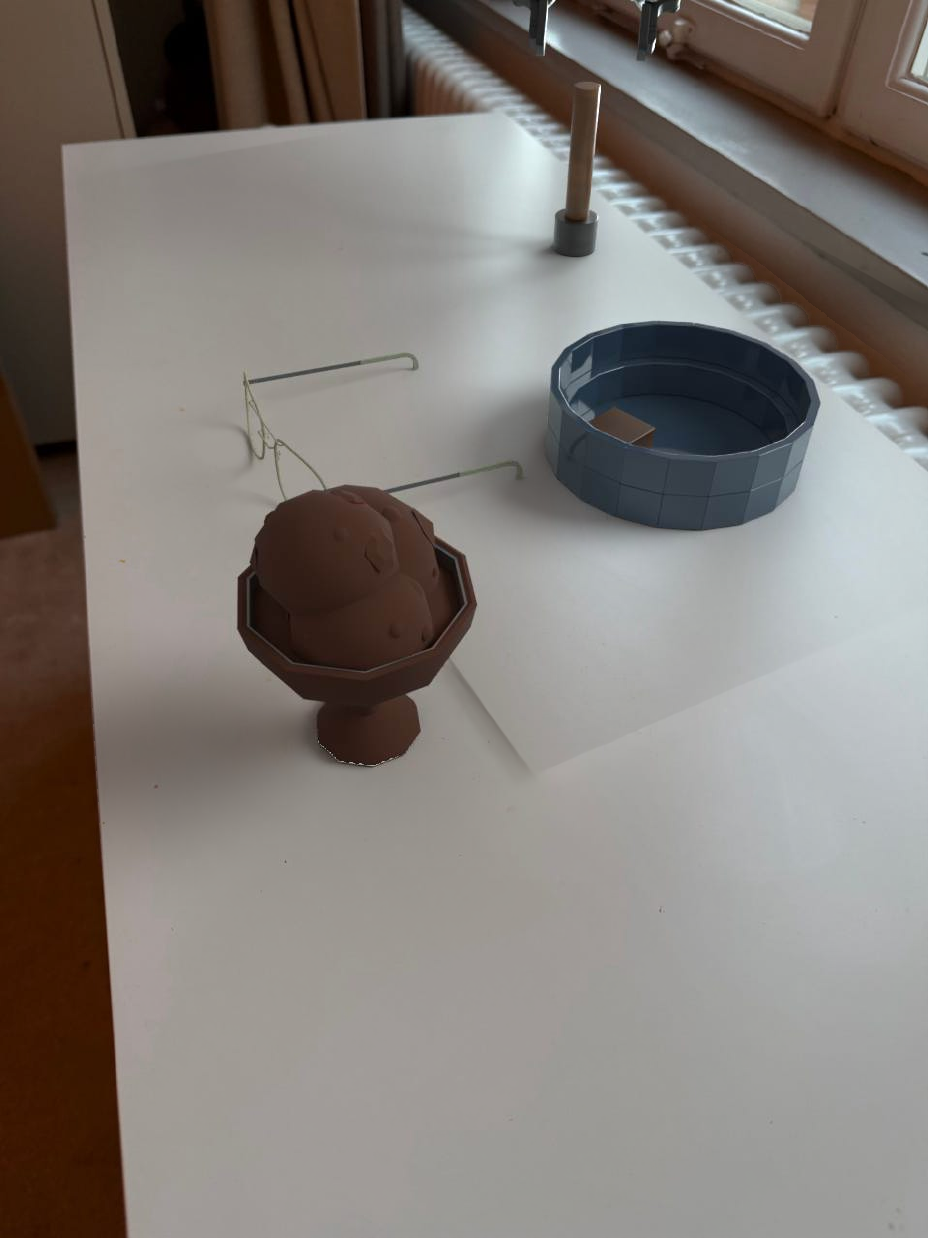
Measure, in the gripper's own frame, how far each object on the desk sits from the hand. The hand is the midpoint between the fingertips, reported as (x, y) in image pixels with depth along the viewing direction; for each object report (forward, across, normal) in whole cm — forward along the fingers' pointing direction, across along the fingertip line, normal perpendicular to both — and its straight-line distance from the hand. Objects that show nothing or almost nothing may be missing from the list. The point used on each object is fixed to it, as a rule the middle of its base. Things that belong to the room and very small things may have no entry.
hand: (590, 53), depth 84 cm
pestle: (+12, 0, +10) cm, 16 cm away
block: (+38, +4, -16) cm, 42 cm away
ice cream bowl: (+55, -8, -32) cm, 64 cm away
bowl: (+36, +8, -14) cm, 40 cm away
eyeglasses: (+38, -12, -15) cm, 43 cm away
